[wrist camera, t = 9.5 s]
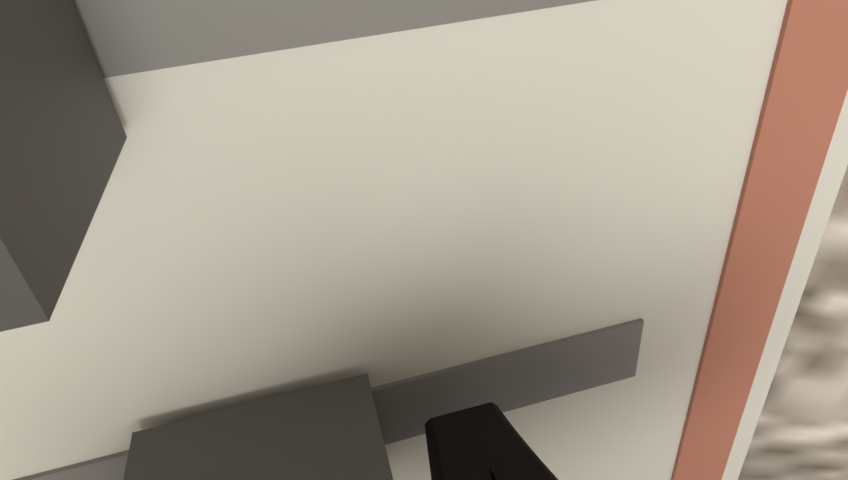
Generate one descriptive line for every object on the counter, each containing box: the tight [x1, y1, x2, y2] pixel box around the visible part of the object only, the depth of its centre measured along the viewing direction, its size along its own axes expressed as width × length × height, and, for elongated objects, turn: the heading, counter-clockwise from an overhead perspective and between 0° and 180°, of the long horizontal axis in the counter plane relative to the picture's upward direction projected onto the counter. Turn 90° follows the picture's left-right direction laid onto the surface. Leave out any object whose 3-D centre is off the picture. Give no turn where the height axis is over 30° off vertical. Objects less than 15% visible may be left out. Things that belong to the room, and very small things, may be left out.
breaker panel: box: [0, 0, 848, 480], centre depth 11 cm, size 20×20×7 cm
